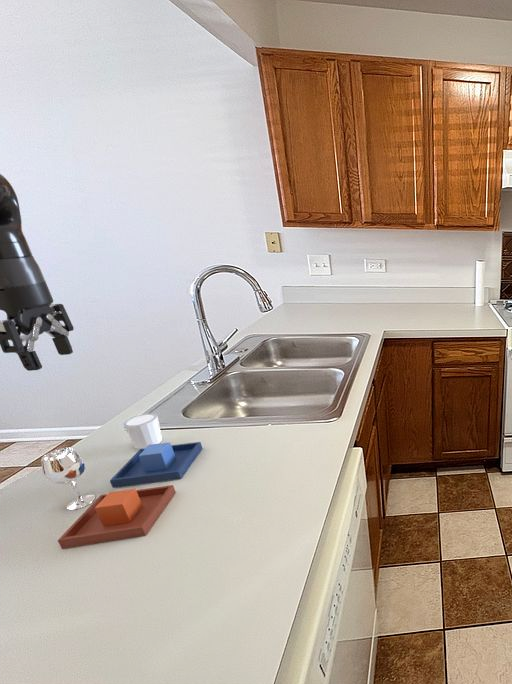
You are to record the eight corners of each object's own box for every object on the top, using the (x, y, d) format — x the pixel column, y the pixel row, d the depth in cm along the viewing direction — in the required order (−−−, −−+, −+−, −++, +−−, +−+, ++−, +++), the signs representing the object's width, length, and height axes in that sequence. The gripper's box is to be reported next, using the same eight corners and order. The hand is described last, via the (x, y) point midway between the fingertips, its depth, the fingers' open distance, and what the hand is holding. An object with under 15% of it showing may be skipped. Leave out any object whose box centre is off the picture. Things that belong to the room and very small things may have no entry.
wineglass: (104, 498, 83) (82, 451, 79) (67, 516, 79) (42, 466, 74) (93, 489, 86) (72, 442, 82) (57, 505, 81) (32, 457, 77)
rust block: (103, 526, 76) (94, 507, 74) (117, 509, 80) (109, 491, 78) (130, 522, 77) (122, 504, 75) (142, 506, 81) (135, 488, 79)
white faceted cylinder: (148, 452, 99) (139, 427, 96) (124, 449, 100) (115, 425, 97) (172, 437, 105) (164, 414, 103) (149, 434, 106) (141, 411, 104)
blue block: (144, 472, 91) (138, 455, 89) (154, 460, 95) (148, 444, 93) (167, 469, 92) (161, 453, 90) (176, 457, 96) (170, 442, 94)
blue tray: (112, 488, 87) (109, 480, 86) (142, 455, 98) (140, 448, 97) (180, 478, 89) (178, 471, 89) (202, 448, 100) (200, 441, 100)
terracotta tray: (61, 548, 71) (57, 540, 71) (104, 502, 82) (100, 494, 82) (145, 535, 74) (142, 527, 73) (176, 492, 85) (173, 484, 84)
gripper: (22, 276, 80) (55, 351, 86) (-46, 290, 67) (-2, 377, 73) (67, 274, 81) (95, 348, 88) (8, 288, 69) (46, 373, 75)
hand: (51, 361), depth 80 cm, fingers open, 8 cm apart
